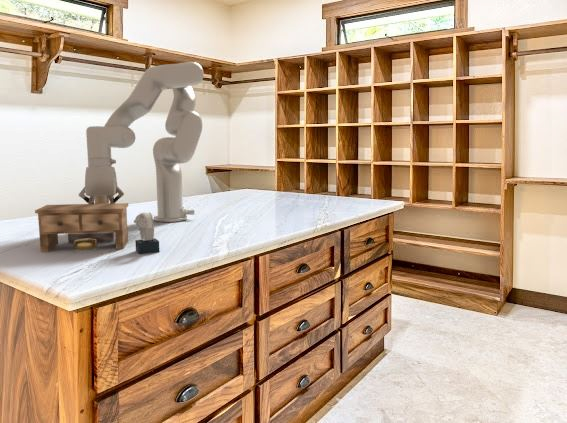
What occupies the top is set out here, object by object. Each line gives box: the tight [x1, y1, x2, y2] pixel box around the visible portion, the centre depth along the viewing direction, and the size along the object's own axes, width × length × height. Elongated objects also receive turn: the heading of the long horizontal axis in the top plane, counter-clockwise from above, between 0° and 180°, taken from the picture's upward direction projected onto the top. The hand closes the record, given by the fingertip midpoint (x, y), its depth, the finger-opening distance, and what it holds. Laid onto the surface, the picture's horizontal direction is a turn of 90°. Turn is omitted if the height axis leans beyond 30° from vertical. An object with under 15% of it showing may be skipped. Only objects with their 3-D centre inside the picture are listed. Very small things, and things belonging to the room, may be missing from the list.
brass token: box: [73, 238, 98, 251], centre depth 138 cm, size 6×6×2 cm
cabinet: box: [34, 202, 129, 253], centre depth 138 cm, size 23×12×12 cm, turn 101°
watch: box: [133, 212, 160, 255], centre depth 133 cm, size 6×8×11 cm
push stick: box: [67, 195, 115, 244], centre depth 155 cm, size 13×23×16 cm, turn 11°
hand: (102, 215), depth 164 cm, fingers open, 5 cm apart
